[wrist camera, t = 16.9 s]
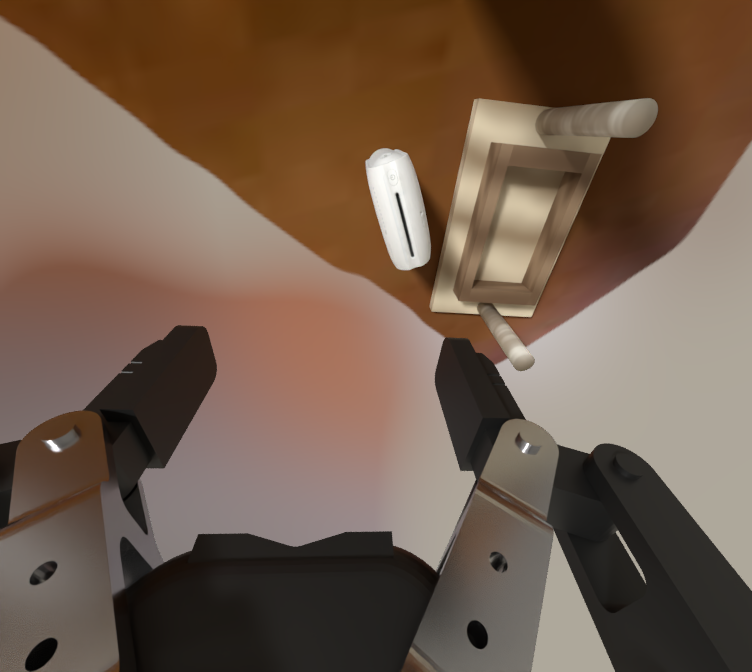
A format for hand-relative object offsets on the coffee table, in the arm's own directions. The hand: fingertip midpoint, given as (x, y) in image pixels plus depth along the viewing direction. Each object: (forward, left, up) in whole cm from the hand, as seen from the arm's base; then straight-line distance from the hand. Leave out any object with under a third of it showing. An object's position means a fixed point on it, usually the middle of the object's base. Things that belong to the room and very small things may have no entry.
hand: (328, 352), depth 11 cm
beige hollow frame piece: (+2, +20, -30) cm, 36 cm away
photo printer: (0, +5, -30) cm, 31 cm away
